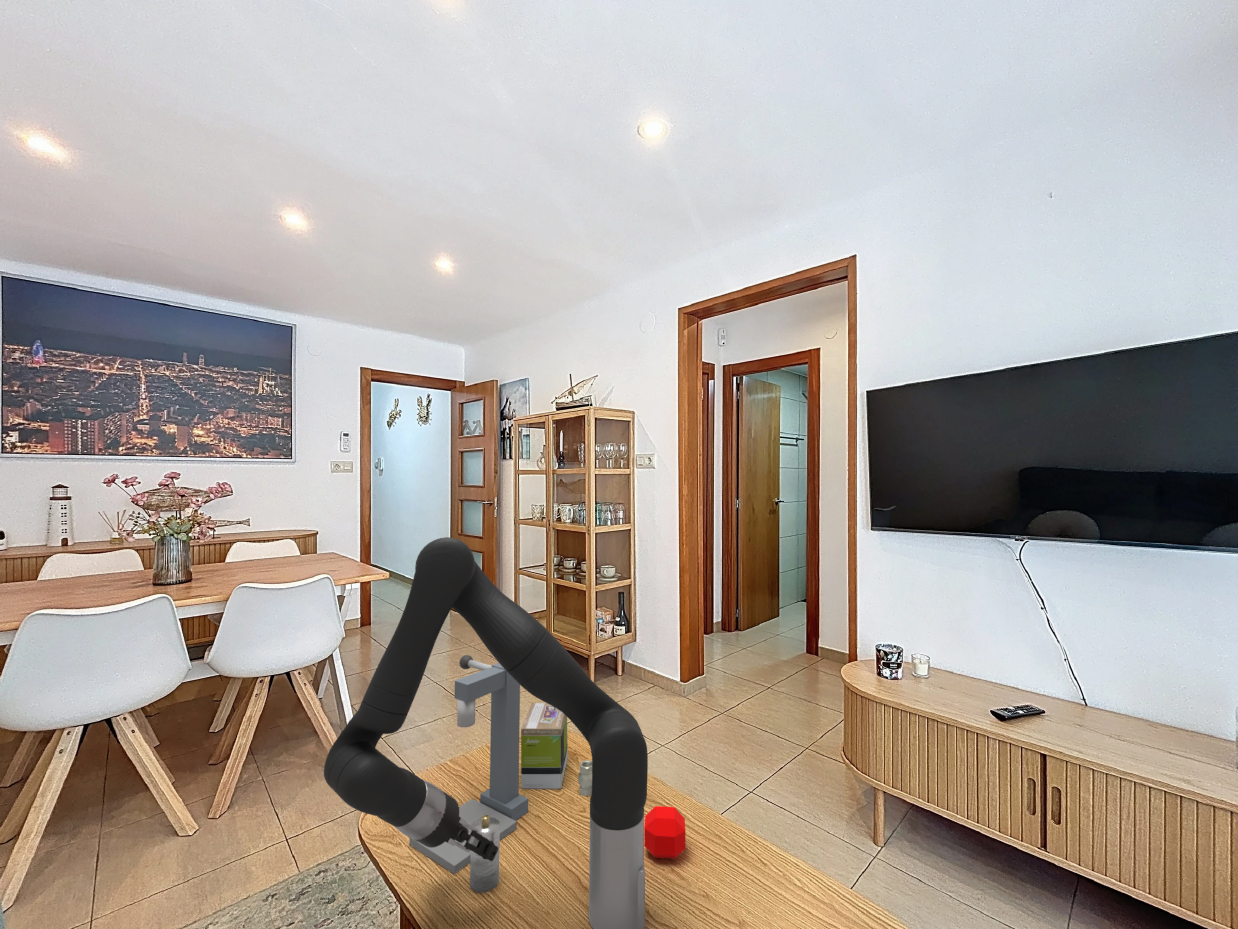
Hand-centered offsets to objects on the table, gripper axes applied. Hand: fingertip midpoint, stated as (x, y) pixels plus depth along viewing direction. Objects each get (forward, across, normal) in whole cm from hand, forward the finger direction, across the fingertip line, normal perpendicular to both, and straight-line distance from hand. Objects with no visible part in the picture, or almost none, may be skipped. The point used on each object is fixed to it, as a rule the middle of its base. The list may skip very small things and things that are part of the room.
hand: (478, 844), depth 96 cm
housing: (+6, 0, +4) cm, 8 cm away
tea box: (+30, +16, -20) cm, 39 cm away
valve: (+31, -2, -20) cm, 36 cm away
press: (+13, +17, -2) cm, 21 cm away
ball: (+25, -23, -14) cm, 37 cm away
